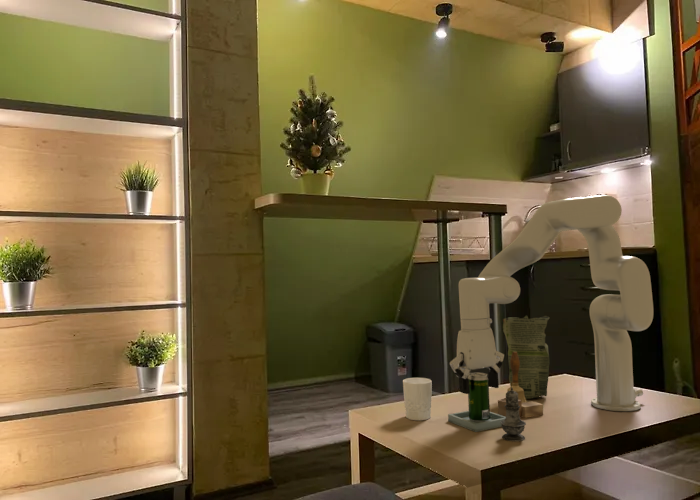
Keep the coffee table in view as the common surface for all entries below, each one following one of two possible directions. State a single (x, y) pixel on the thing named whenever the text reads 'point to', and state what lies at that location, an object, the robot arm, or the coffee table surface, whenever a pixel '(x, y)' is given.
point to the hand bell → (516, 377)
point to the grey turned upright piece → (512, 418)
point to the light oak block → (532, 409)
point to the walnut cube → (503, 410)
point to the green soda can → (478, 397)
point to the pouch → (529, 353)
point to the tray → (465, 422)
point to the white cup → (417, 398)
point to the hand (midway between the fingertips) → (479, 390)
